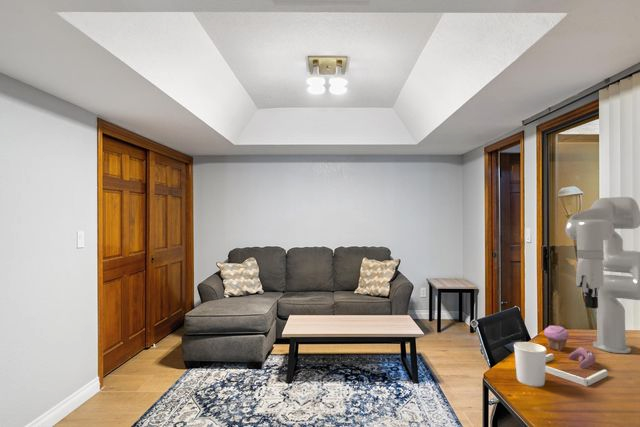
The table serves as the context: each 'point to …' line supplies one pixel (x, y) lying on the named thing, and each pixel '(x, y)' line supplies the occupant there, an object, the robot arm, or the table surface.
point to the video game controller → (583, 357)
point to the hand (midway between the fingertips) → (591, 307)
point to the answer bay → (575, 378)
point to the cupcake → (556, 337)
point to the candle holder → (530, 363)
